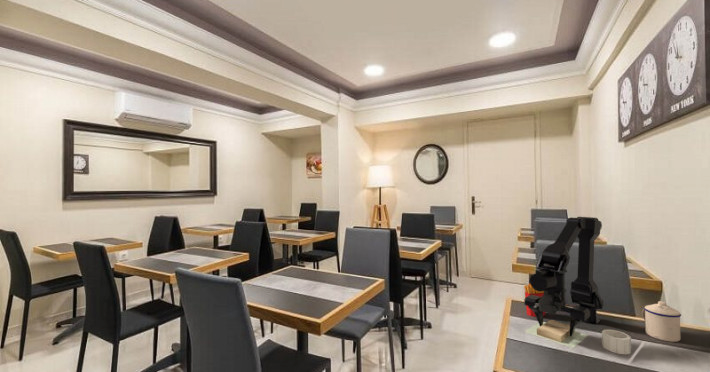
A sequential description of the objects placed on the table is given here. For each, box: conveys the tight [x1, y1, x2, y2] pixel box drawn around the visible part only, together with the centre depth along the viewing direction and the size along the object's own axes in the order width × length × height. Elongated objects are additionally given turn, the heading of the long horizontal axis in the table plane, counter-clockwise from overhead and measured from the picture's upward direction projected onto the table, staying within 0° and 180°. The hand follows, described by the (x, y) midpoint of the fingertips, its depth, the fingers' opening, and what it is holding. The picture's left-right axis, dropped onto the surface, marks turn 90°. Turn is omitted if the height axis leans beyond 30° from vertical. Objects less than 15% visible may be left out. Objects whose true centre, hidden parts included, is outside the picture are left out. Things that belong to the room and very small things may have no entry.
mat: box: [523, 321, 589, 349], centre depth 111 cm, size 14×15×1 cm
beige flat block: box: [537, 319, 570, 342], centre depth 111 cm, size 12×7×2 cm, turn 128°
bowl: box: [601, 329, 632, 355], centre depth 100 cm, size 7×7×5 cm
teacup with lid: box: [641, 300, 682, 343], centre depth 111 cm, size 12×9×12 cm
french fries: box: [523, 283, 546, 318], centre depth 128 cm, size 9×4×13 cm, turn 106°
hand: (555, 331), depth 111 cm, fingers open, 9 cm apart
